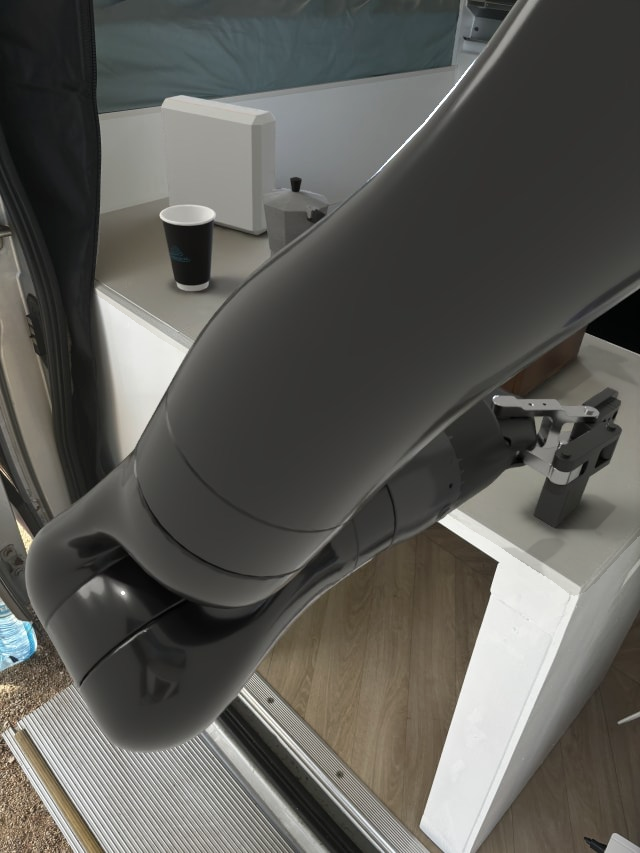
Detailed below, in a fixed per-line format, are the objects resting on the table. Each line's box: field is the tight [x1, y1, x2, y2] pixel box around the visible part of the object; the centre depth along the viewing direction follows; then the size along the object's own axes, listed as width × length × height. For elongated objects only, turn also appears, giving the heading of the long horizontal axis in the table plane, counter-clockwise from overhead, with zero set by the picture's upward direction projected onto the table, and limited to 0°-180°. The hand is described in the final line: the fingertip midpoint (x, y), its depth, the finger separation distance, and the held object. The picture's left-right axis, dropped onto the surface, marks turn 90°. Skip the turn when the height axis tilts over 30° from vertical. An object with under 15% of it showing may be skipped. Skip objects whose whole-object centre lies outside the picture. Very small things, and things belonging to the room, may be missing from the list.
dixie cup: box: [159, 205, 216, 292], centre depth 97 cm, size 8×8×11 cm
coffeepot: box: [263, 176, 330, 258], centre depth 92 cm, size 15×9×18 cm, turn 29°
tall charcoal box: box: [533, 476, 590, 529], centre depth 62 cm, size 2×5×8 cm, turn 135°
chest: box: [500, 324, 589, 398], centre depth 84 cm, size 16×13×10 cm
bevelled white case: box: [160, 94, 277, 236], centre depth 118 cm, size 21×8×20 cm, turn 60°
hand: (553, 375), depth 46 cm, fingers open, 8 cm apart
